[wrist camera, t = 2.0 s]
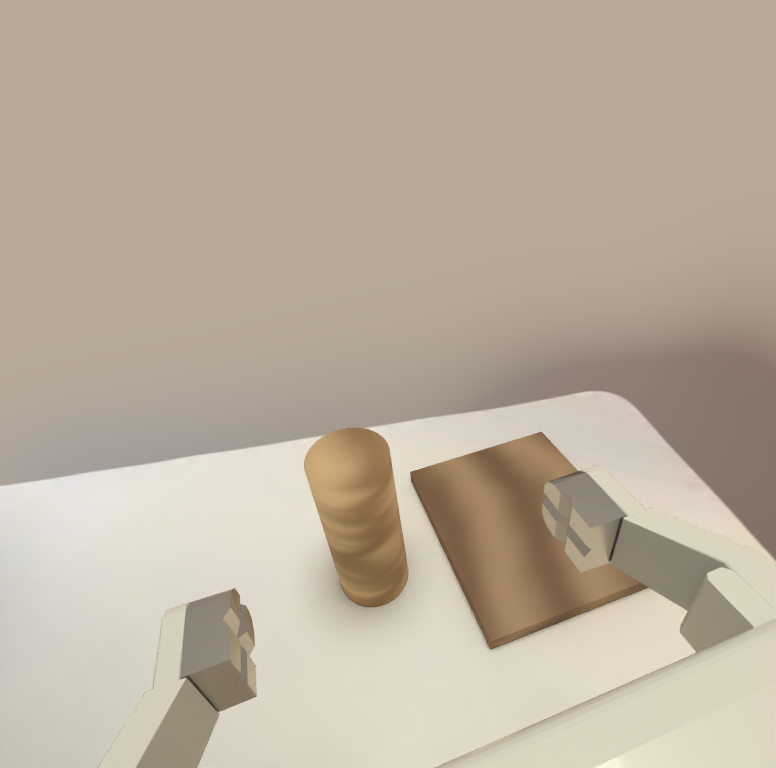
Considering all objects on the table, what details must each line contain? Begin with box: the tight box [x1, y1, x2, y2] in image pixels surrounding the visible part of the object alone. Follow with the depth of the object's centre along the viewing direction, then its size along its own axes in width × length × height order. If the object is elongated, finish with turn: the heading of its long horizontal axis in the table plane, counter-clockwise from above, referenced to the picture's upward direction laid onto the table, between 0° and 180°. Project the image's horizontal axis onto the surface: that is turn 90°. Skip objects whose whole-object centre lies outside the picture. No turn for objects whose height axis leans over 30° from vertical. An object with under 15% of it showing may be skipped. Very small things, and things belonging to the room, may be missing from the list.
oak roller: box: [304, 428, 408, 607], centre depth 29 cm, size 5×5×12 cm
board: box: [410, 432, 647, 649], centre depth 34 cm, size 13×15×1 cm
